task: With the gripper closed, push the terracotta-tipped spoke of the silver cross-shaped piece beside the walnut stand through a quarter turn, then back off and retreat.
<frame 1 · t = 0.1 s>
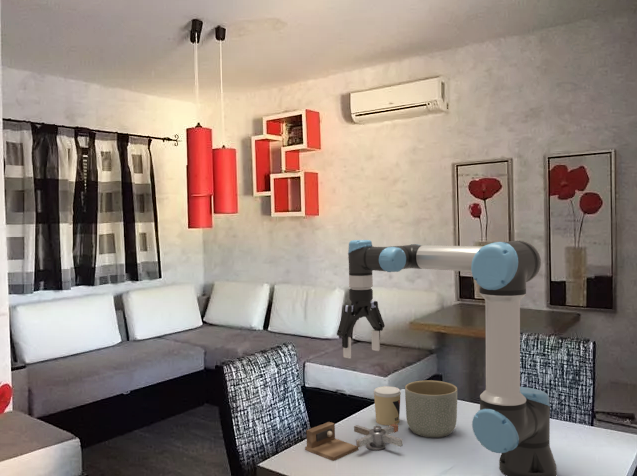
hand: (361, 354, 189), 28 cm above the table, fingers open, 13 cm apart
silver cross-shaped piece: (377, 437, 181), point 4 cm above the table, hinge at 0.0°
planter: (431, 433, 194), on the table
coffee cup: (387, 424, 203), on the table
stand: (331, 453, 179), on the table
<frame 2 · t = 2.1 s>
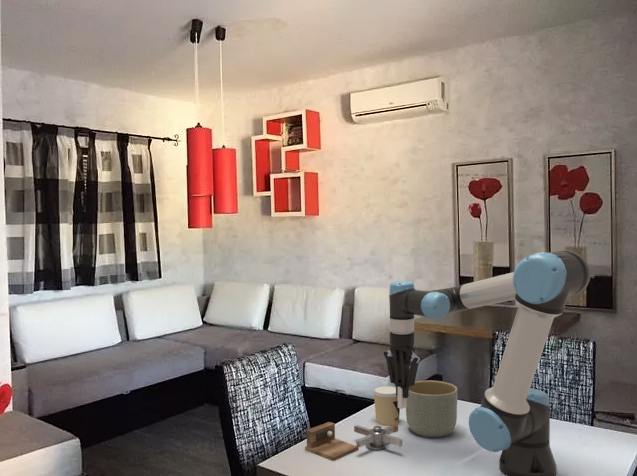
hand: (402, 407, 182), 13 cm above the table, fingers closed
nothing on the table moved.
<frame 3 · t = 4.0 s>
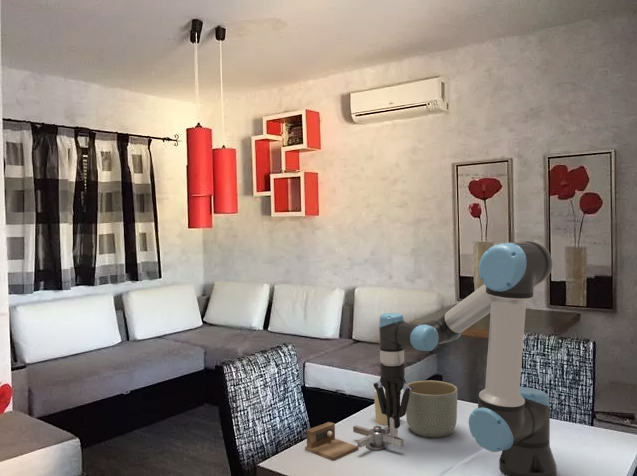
hand: (393, 437, 184), 3 cm above the table, fingers closed
silver cross-shaped piece: (377, 437, 181), point 4 cm above the table, hinge at 2.9°, touching gripper
everything else where it was.
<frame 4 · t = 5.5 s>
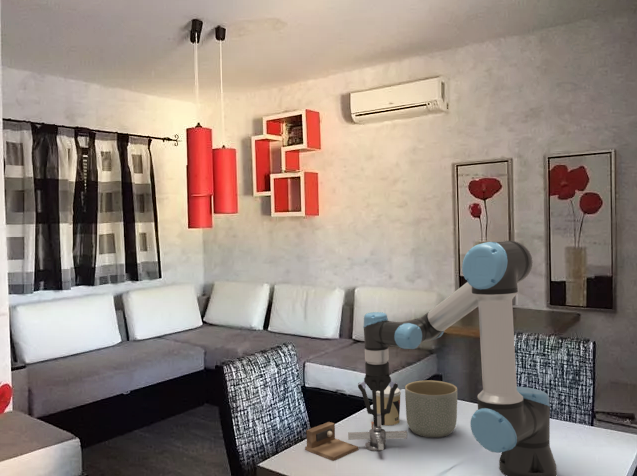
hand: (379, 434, 187), 2 cm above the table, fingers closed
silver cross-shaped piece: (377, 437, 181), point 4 cm above the table, hinge at 46.2°, touching gripper
everything else where it was.
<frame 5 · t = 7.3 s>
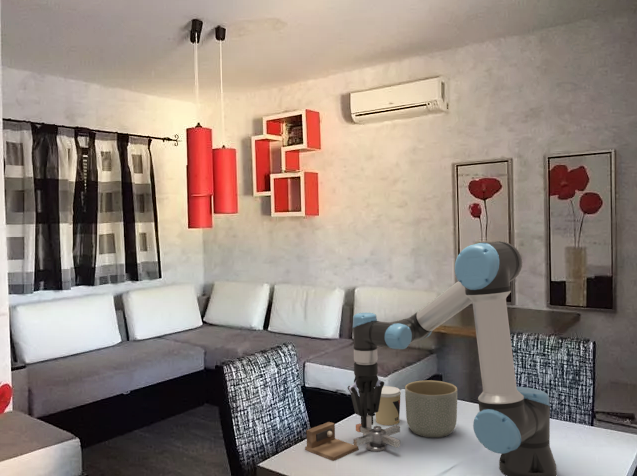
hand: (367, 435, 187), 2 cm above the table, fingers closed
silver cross-shaped piece: (377, 437, 181), point 4 cm above the table, hinge at 82.1°, touching gripper
everything else where it was.
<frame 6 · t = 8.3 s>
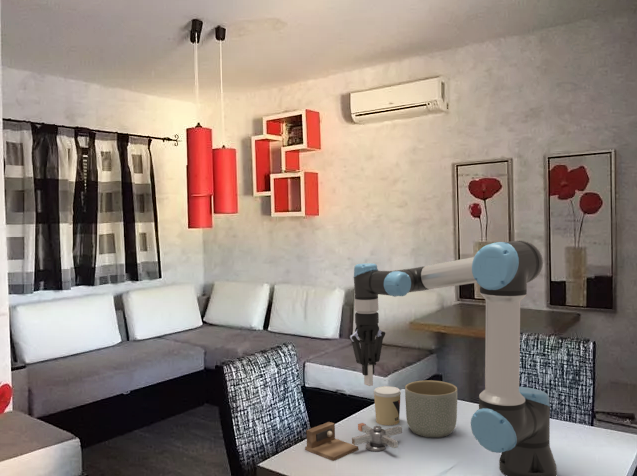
hand: (368, 384, 189), 18 cm above the table, fingers closed
silver cross-shaped piece: (377, 437, 181), point 4 cm above the table, hinge at 76.0°
everything else where it was.
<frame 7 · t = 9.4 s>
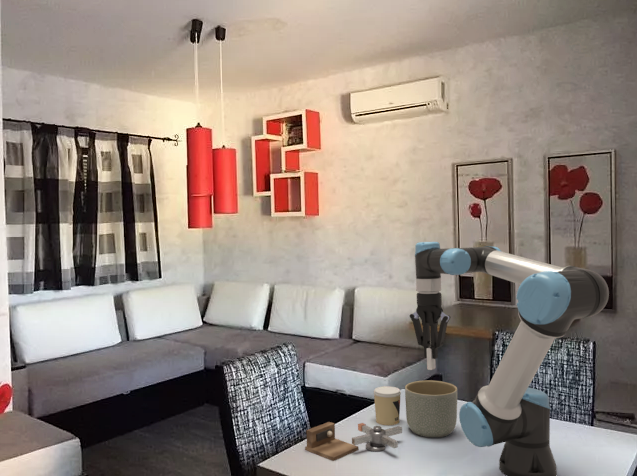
hand: (431, 368, 180), 25 cm above the table, fingers closed
nothing on the table moved.
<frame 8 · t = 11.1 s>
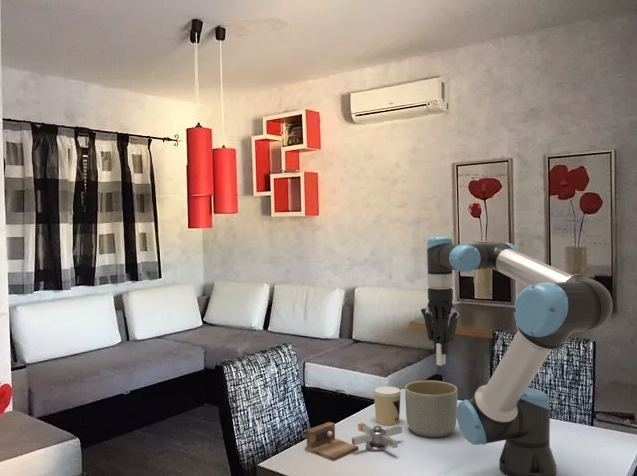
hand: (441, 364, 180), 26 cm above the table, fingers closed
nothing on the table moved.
at the end: silver cross-shaped piece at +76° (first picture: +0°) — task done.
